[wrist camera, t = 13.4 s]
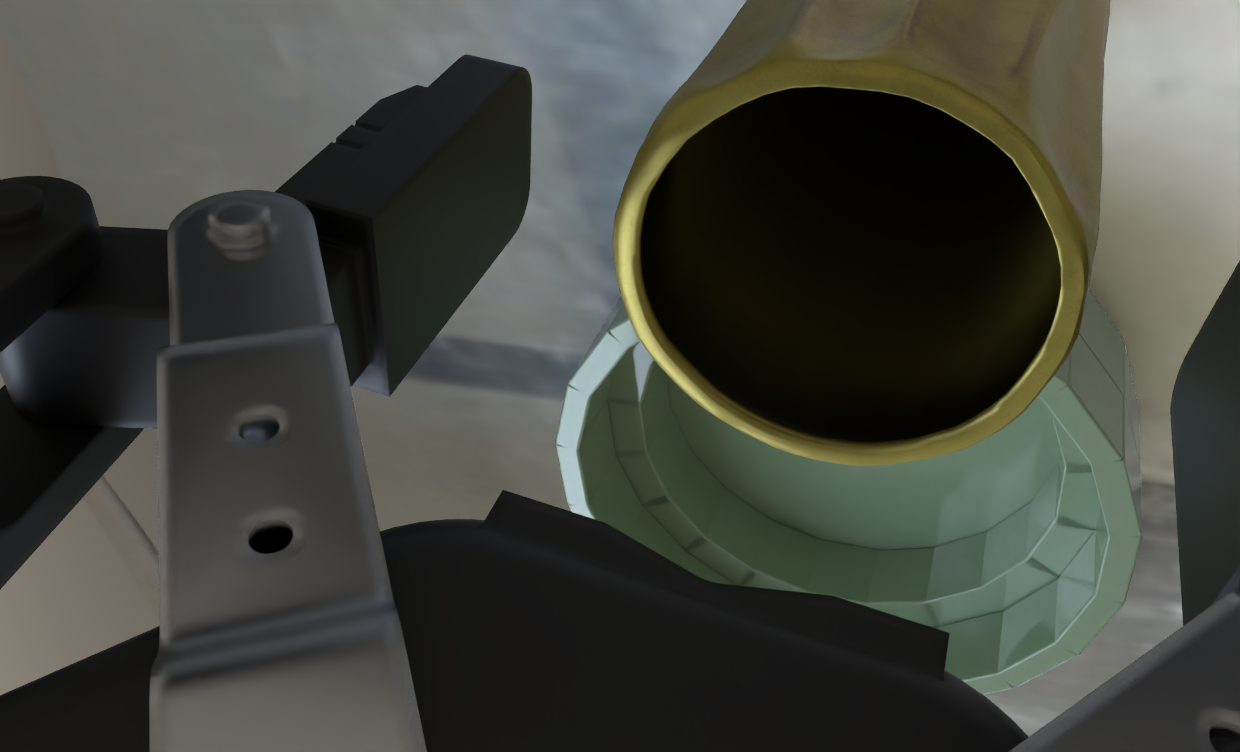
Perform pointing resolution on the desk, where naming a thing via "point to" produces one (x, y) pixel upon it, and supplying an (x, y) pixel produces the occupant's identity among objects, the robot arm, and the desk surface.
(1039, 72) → the vase
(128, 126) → the desk surface
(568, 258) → the desk surface
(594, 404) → the bowl
